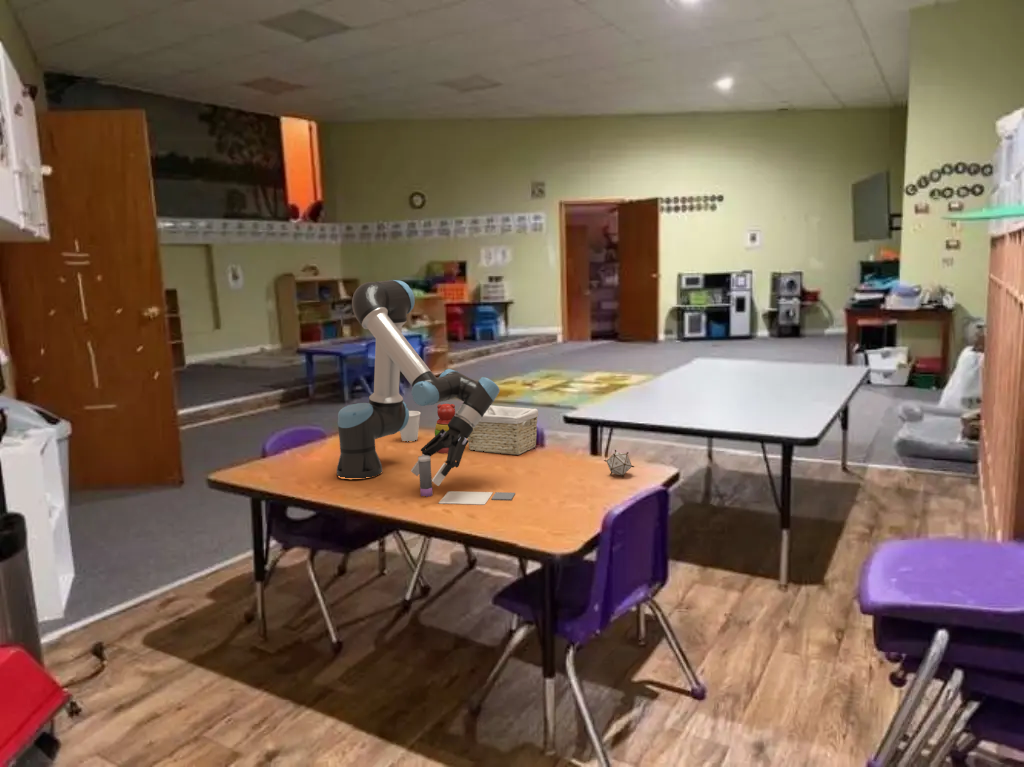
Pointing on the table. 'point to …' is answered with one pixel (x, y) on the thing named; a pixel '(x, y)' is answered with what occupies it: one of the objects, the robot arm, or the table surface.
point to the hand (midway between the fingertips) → (424, 478)
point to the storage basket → (505, 430)
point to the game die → (619, 463)
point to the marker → (425, 475)
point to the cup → (411, 427)
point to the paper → (466, 498)
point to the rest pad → (503, 496)
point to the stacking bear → (444, 420)
